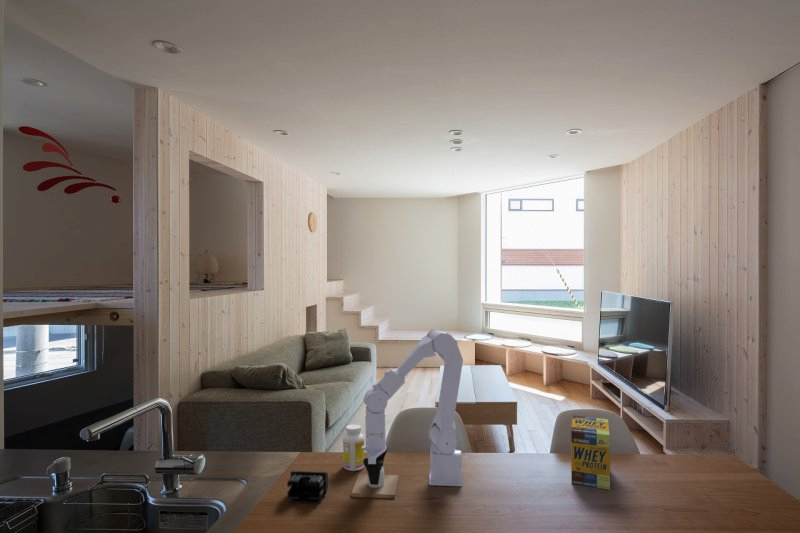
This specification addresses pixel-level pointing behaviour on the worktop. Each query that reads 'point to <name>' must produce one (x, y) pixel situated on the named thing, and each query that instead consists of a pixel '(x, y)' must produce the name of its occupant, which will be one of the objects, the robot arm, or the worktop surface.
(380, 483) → the cap
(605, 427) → the protein box
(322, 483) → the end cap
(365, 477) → the post board
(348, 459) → the supplement bottle
